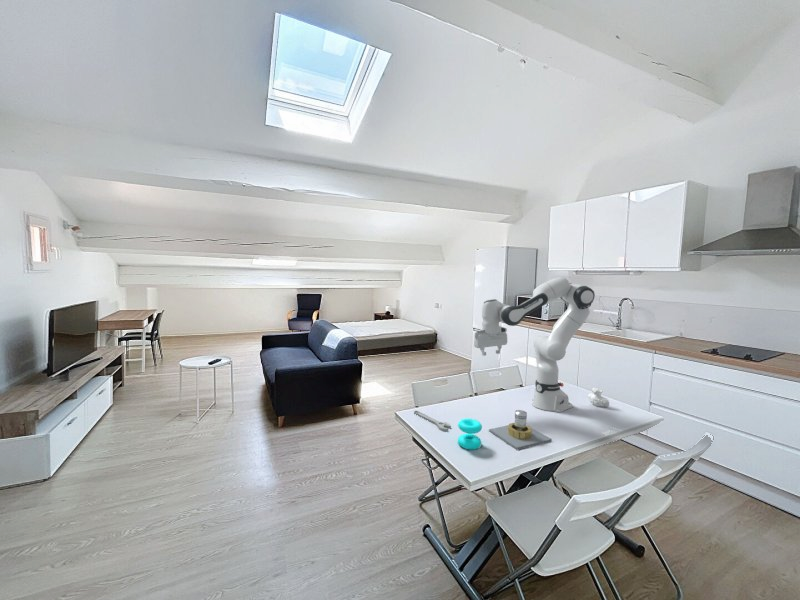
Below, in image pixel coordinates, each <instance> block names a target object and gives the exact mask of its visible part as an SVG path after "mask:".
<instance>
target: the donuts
mask: <svg viewBox="0 0 800 600" xmlns="http://www.w3.org/2000/svg"><path fill="white" fill-rule="evenodd" d="M457 426H458V428H459V430H460V431H461V432H463V434H461V435H459V437H458V438H457V443H458V445H459V447H461V448H463V449H466V450H471V451H473V450H477V449H479V448H481V446H482V439H481V438H480V437H479V436H478V435H476V434H478V433H479V432H481V431H482V428H483V425H482V423H481V422H480V421H478V420H477V419H473V418H463V419H460V420H459V421H458V423H457Z"/></svg>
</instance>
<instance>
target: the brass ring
mask: <svg viewBox="0 0 800 600" xmlns="http://www.w3.org/2000/svg"><path fill="white" fill-rule="evenodd" d="M514 425H515V422H511V423H509V424H508V434H509V435H510V436H512V437H514V438H517V439H530V438H531V436H532V429H531V428H532V427H531V426H529V425H528V424H526V431H518V430H515V429H514Z"/></svg>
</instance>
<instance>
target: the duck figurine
mask: <svg viewBox="0 0 800 600" xmlns="http://www.w3.org/2000/svg"><path fill="white" fill-rule="evenodd" d="M591 391H592V392H590V393H589V394H588V398H589V400H590V401H589V402H590V403H591V404H592V405H593V406H595V405H596V406H595V407H601V408H602V407H603V408H608V407H609V406H610V401H609V399H608V398H606V397H604V396H602V393H603V390H601V389H600V388H599V387H598V388H597V387H592V389H591Z"/></svg>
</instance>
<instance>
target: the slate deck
mask: <svg viewBox="0 0 800 600" xmlns="http://www.w3.org/2000/svg"><path fill="white" fill-rule="evenodd" d="M508 425H509V424H508ZM508 425H504V426H503V425H502V426H499V427H498V426H497V427H495V428H494V427H493V428H490V429H488V432H489V433H490V434H493V435H494V436H496V437H497V438H498V439H500V440H501V441H503V442H504V443H506V445H509V446H510V447H512V449H514V450H516V451H517V450H521V449H526V448H530V447H533V446H537V445H538V446H539V445H542V444H546V443H550V442H552V440H553V439H552V438H550V437H549V436H547V435H545V434H543V433H542V432H540V431H538V430H537V429H535V428H533V427H531V429H532V436H531V438H530V439H517V438H514V437H512V436H510V435H509V434H508ZM529 446H530V447H529Z"/></svg>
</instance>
